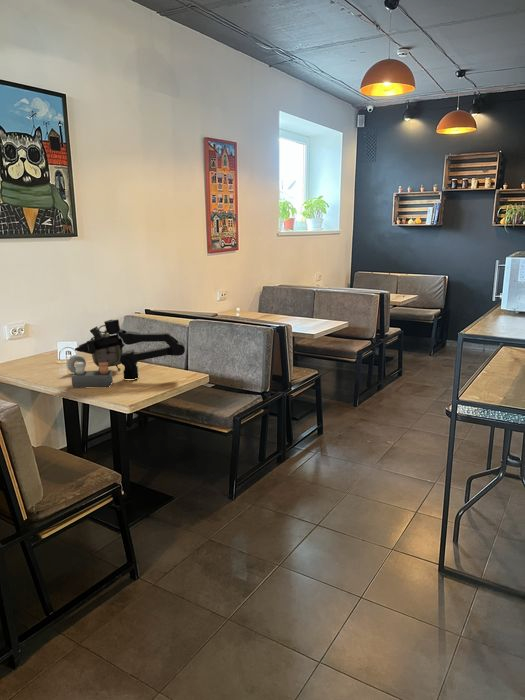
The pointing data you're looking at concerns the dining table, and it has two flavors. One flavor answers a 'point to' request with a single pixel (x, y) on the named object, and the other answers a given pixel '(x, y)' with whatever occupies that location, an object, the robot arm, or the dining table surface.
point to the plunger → (80, 368)
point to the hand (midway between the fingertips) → (77, 348)
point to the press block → (92, 379)
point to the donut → (73, 360)
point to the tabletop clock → (108, 354)
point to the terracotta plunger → (103, 367)
